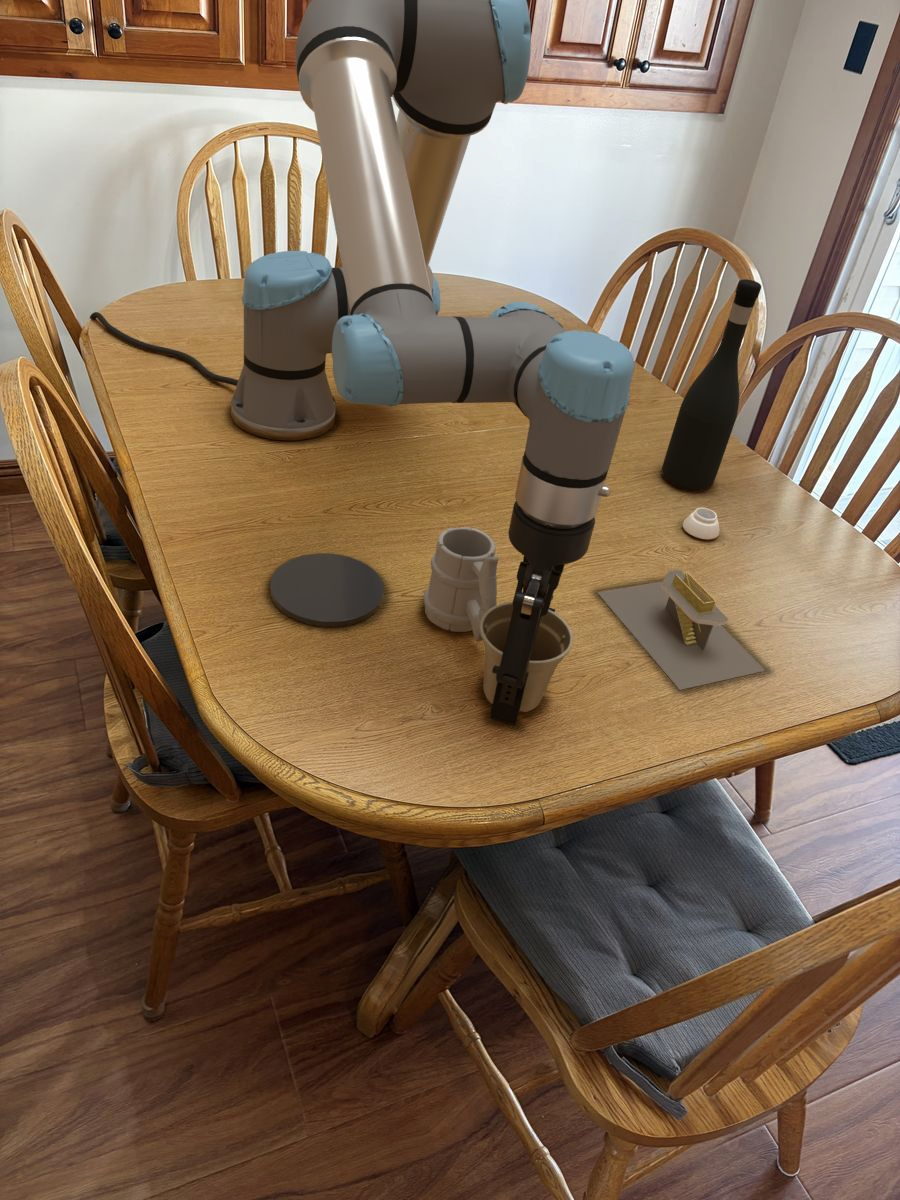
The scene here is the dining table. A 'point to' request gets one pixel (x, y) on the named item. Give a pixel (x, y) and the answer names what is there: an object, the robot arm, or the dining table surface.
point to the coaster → (326, 590)
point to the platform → (681, 630)
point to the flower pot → (544, 659)
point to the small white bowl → (702, 524)
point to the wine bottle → (710, 405)
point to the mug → (462, 580)
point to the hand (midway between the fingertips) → (513, 691)
